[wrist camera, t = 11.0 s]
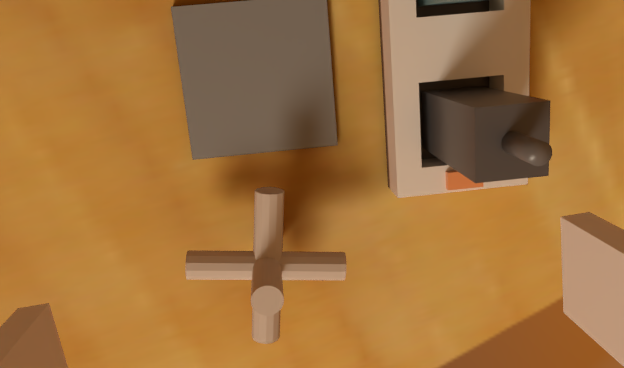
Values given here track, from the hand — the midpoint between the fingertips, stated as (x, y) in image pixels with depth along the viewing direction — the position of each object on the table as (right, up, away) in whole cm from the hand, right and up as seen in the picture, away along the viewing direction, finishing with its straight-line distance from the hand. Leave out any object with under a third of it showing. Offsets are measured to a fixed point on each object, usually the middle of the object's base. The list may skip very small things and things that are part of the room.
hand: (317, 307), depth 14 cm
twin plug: (+9, +8, +25) cm, 28 cm away
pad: (-4, +10, +23) cm, 26 cm away
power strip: (+9, +13, +24) cm, 29 cm away
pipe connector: (-4, -1, +27) cm, 27 cm away
